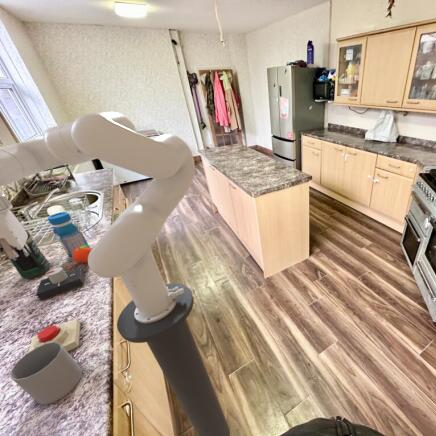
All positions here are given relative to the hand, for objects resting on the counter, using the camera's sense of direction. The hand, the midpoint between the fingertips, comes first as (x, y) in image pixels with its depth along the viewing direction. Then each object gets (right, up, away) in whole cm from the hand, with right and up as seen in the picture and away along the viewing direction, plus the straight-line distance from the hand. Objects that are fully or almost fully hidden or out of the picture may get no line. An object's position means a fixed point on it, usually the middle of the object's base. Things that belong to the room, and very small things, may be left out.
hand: (31, 267), depth 63 cm
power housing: (+4, -22, +3) cm, 23 cm away
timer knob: (-15, -9, +23) cm, 29 cm away
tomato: (-18, -5, +38) cm, 43 cm away
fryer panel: (-15, -12, +25) cm, 31 cm away
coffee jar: (-35, -9, +33) cm, 49 cm away
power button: (+4, -19, +1) cm, 20 cm away
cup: (+15, -27, -7) cm, 32 cm away
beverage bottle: (-26, -3, +43) cm, 51 cm away
